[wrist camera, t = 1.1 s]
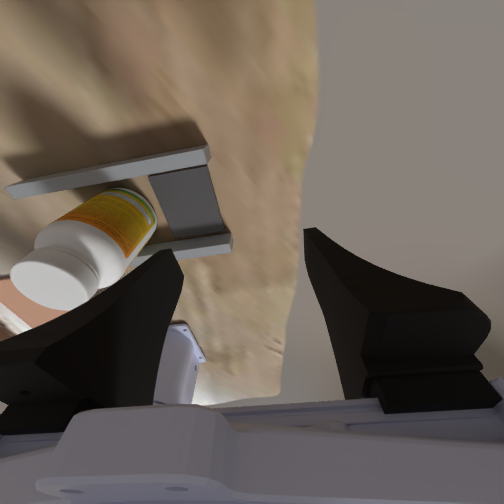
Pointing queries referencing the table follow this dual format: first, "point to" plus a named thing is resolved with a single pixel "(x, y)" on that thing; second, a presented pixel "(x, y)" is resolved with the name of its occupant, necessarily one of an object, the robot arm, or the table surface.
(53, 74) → the table surface
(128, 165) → the channel
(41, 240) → the supplement bottle
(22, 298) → the tile
